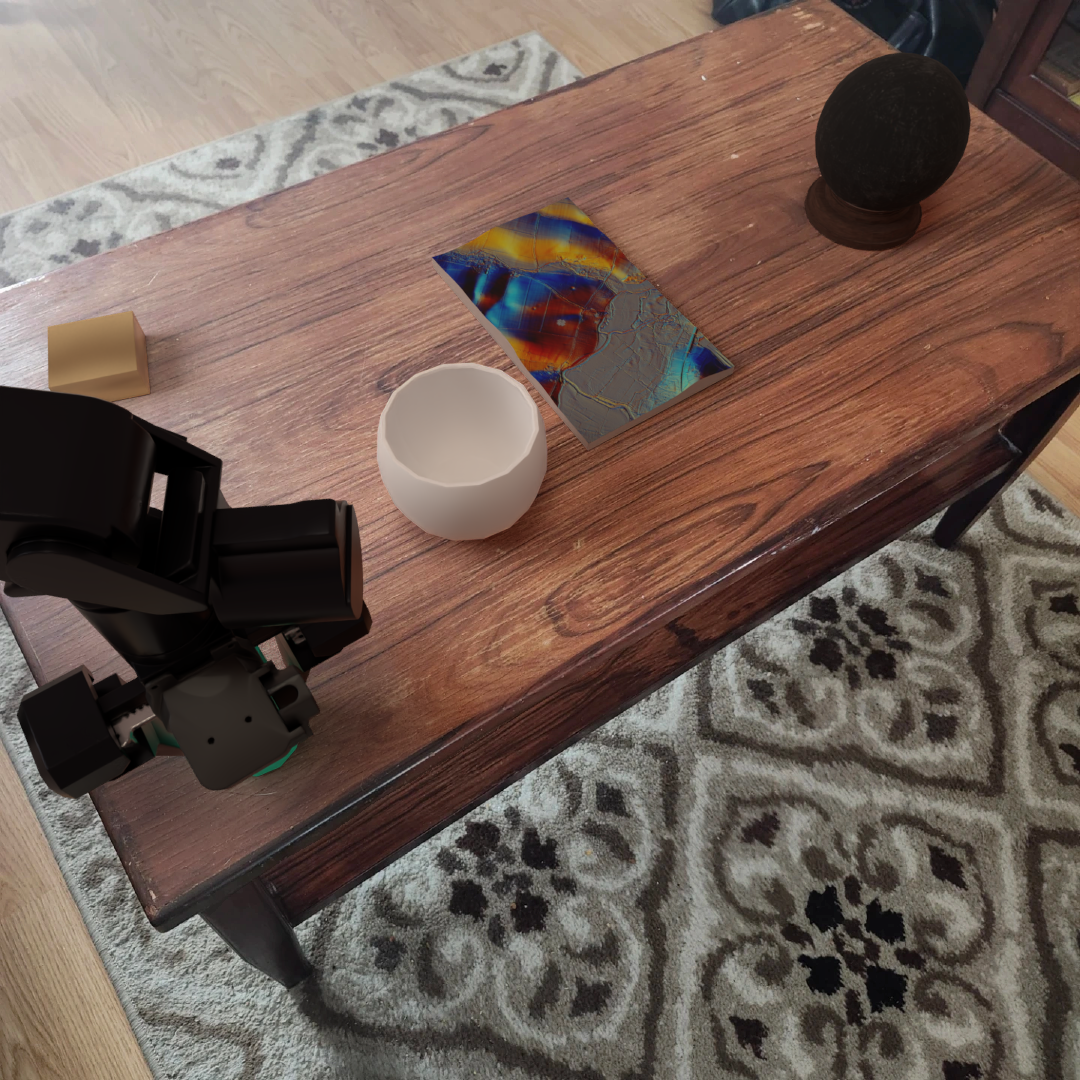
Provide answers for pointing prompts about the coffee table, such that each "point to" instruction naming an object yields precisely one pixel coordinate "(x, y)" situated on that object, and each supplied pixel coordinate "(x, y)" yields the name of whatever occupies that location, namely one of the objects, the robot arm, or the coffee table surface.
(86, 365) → the maple block
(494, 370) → the cup
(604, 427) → the relief map
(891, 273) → the coffee table surface
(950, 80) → the velvet ball on stand
